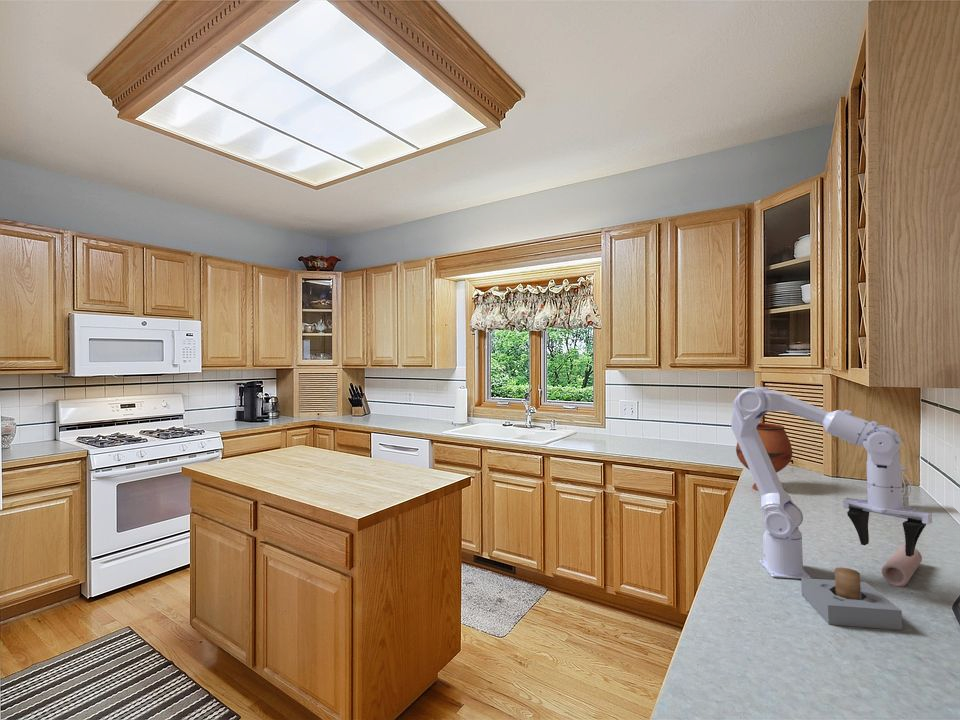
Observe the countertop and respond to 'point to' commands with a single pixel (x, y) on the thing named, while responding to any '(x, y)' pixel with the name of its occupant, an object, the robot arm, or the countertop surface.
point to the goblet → (772, 446)
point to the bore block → (851, 606)
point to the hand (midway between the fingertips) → (886, 549)
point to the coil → (901, 567)
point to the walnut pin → (847, 583)
